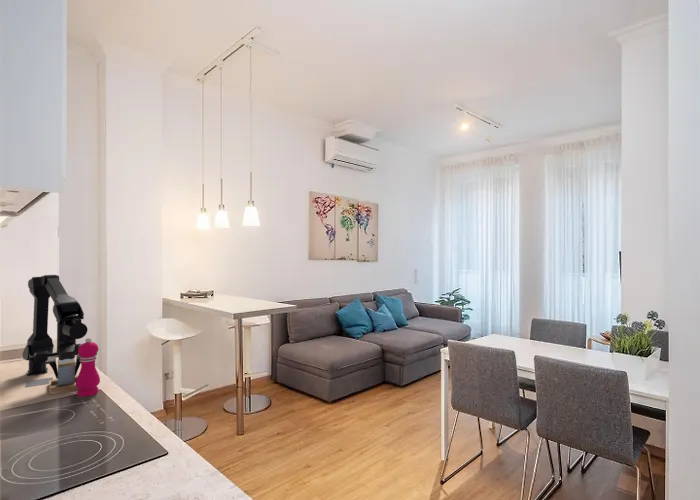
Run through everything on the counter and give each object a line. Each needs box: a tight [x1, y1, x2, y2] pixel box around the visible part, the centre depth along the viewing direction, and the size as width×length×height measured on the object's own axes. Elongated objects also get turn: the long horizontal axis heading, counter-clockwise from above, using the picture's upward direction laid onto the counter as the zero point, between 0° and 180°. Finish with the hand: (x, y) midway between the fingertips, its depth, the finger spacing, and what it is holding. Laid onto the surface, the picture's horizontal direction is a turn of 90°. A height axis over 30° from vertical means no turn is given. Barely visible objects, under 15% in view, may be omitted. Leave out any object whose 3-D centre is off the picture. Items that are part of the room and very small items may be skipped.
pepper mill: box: [76, 337, 101, 398], centre depth 139 cm, size 7×7×20 cm
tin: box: [57, 358, 76, 387], centre depth 145 cm, size 7×5×9 cm
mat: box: [24, 377, 54, 388], centre depth 149 cm, size 8×8×1 cm
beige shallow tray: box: [48, 375, 79, 395], centre depth 145 cm, size 12×10×2 cm
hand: (66, 377), depth 145 cm, fingers closed on tin, 5 cm apart
